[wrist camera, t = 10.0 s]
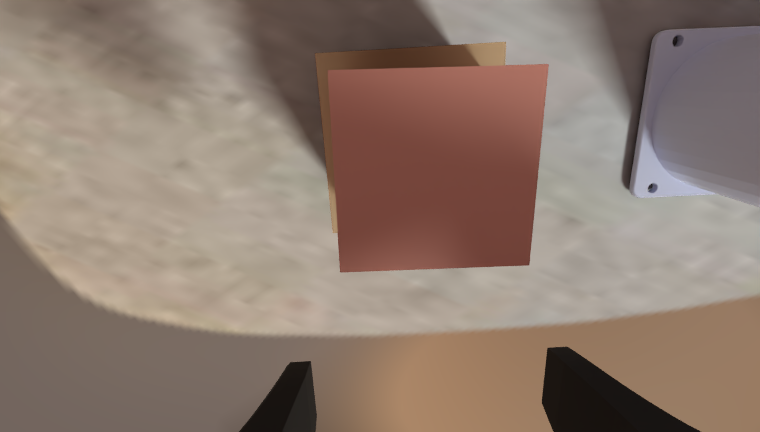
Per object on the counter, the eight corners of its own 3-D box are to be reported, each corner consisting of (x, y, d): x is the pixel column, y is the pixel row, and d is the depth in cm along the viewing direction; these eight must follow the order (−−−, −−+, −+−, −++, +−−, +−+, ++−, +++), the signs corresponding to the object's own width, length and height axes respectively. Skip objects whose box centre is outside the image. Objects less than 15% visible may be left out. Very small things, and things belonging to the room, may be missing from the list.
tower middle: (476, 49, 16) (506, 41, 13) (474, 196, 18) (499, 222, 15) (325, 58, 16) (314, 53, 13) (338, 205, 18) (333, 233, 15)
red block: (482, 69, 13) (548, 64, 8) (476, 204, 15) (528, 265, 10) (341, 73, 13) (327, 70, 8) (348, 209, 14) (340, 272, 10)
